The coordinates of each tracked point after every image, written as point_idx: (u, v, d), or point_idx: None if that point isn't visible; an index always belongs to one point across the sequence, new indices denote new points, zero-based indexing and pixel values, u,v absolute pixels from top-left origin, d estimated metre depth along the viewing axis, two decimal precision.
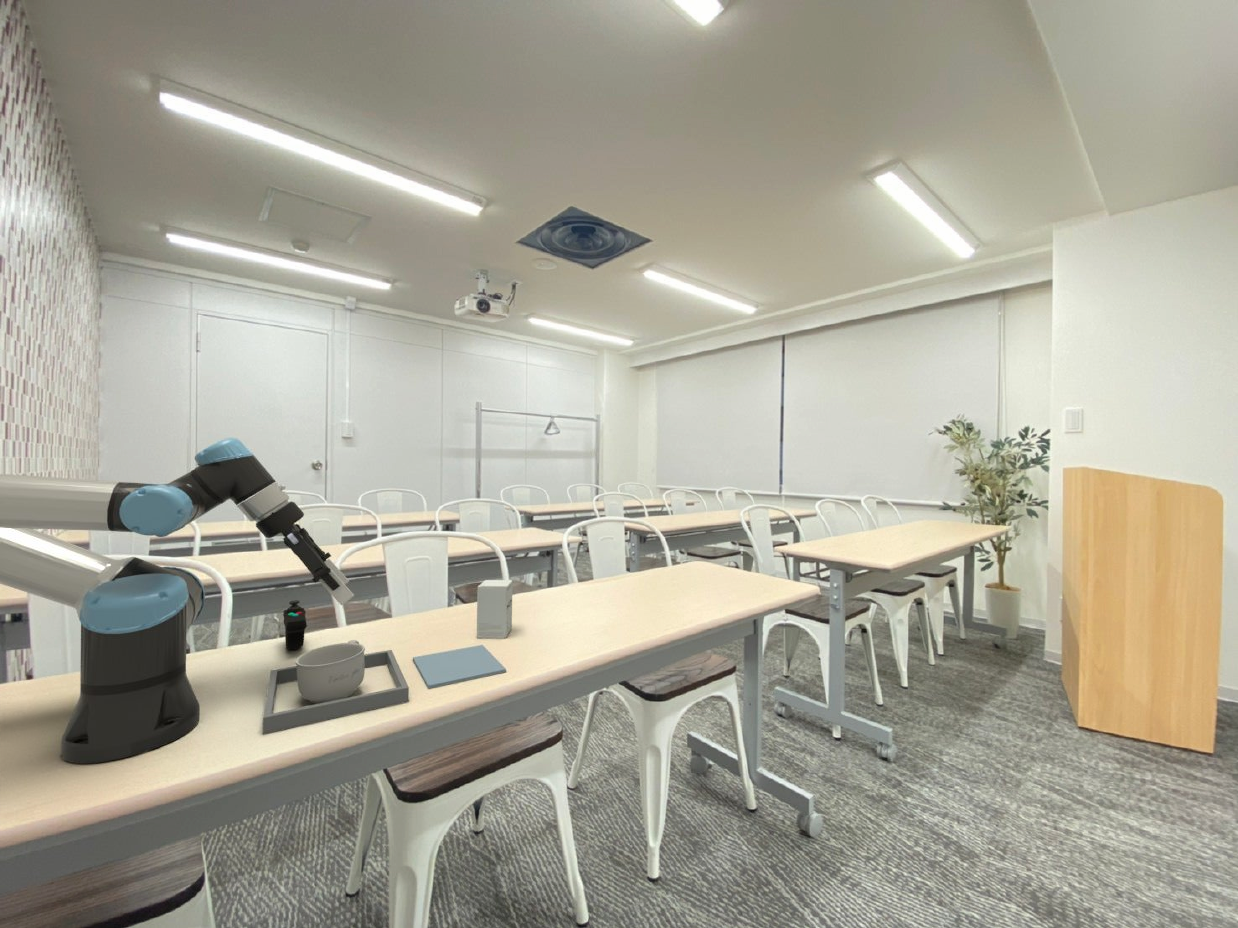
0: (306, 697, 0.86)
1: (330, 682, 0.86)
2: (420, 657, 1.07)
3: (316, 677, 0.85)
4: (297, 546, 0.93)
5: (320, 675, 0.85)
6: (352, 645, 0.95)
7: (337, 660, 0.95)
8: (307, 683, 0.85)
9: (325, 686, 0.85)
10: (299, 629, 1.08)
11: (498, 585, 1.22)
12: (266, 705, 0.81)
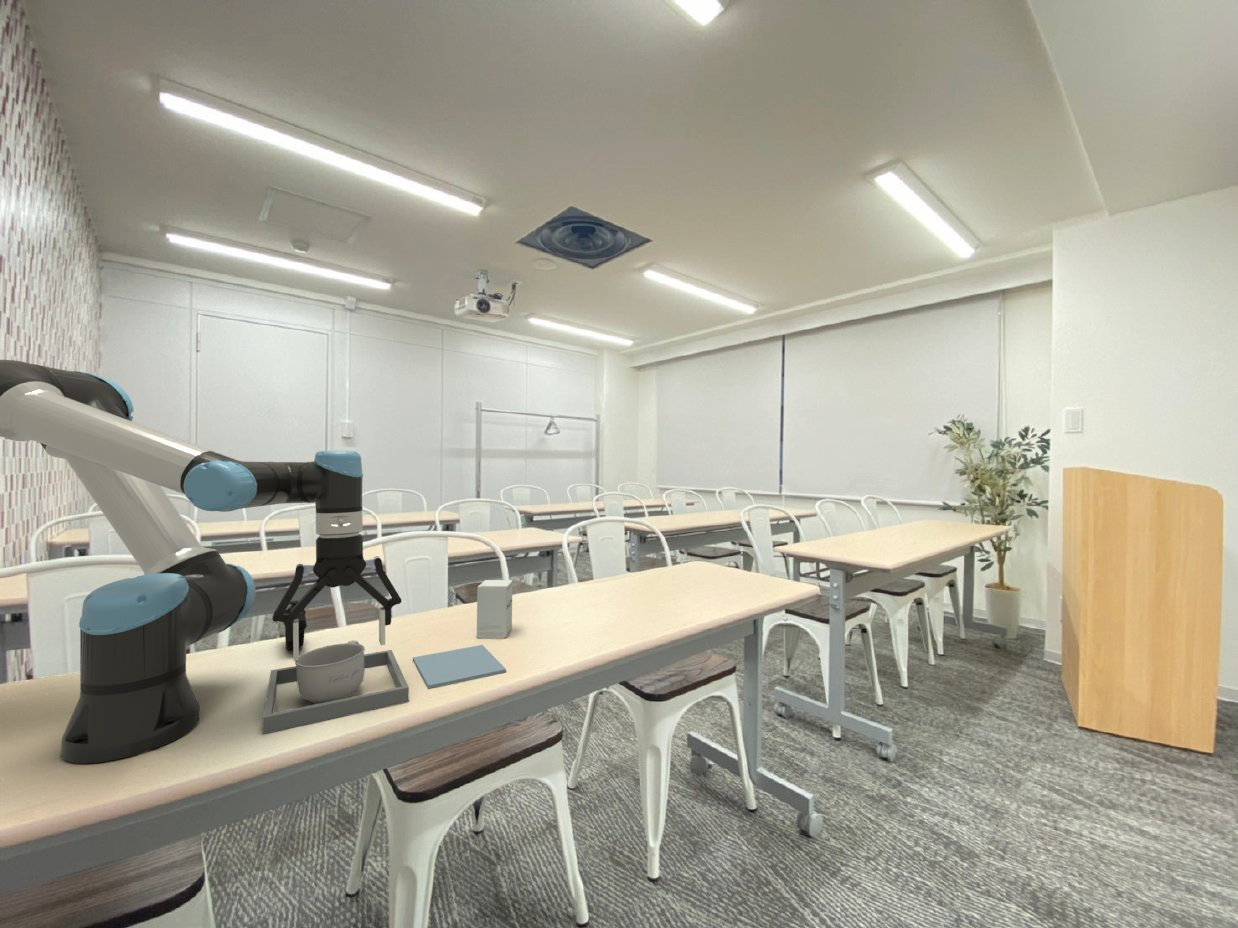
0: (306, 697, 0.86)
1: (330, 682, 0.86)
2: (420, 657, 1.07)
3: (316, 677, 0.85)
4: (293, 579, 0.88)
5: (320, 675, 0.85)
6: (352, 645, 0.95)
7: (337, 660, 0.95)
8: (307, 683, 0.85)
9: (325, 686, 0.85)
10: (299, 629, 1.08)
11: (498, 585, 1.22)
12: (266, 705, 0.81)
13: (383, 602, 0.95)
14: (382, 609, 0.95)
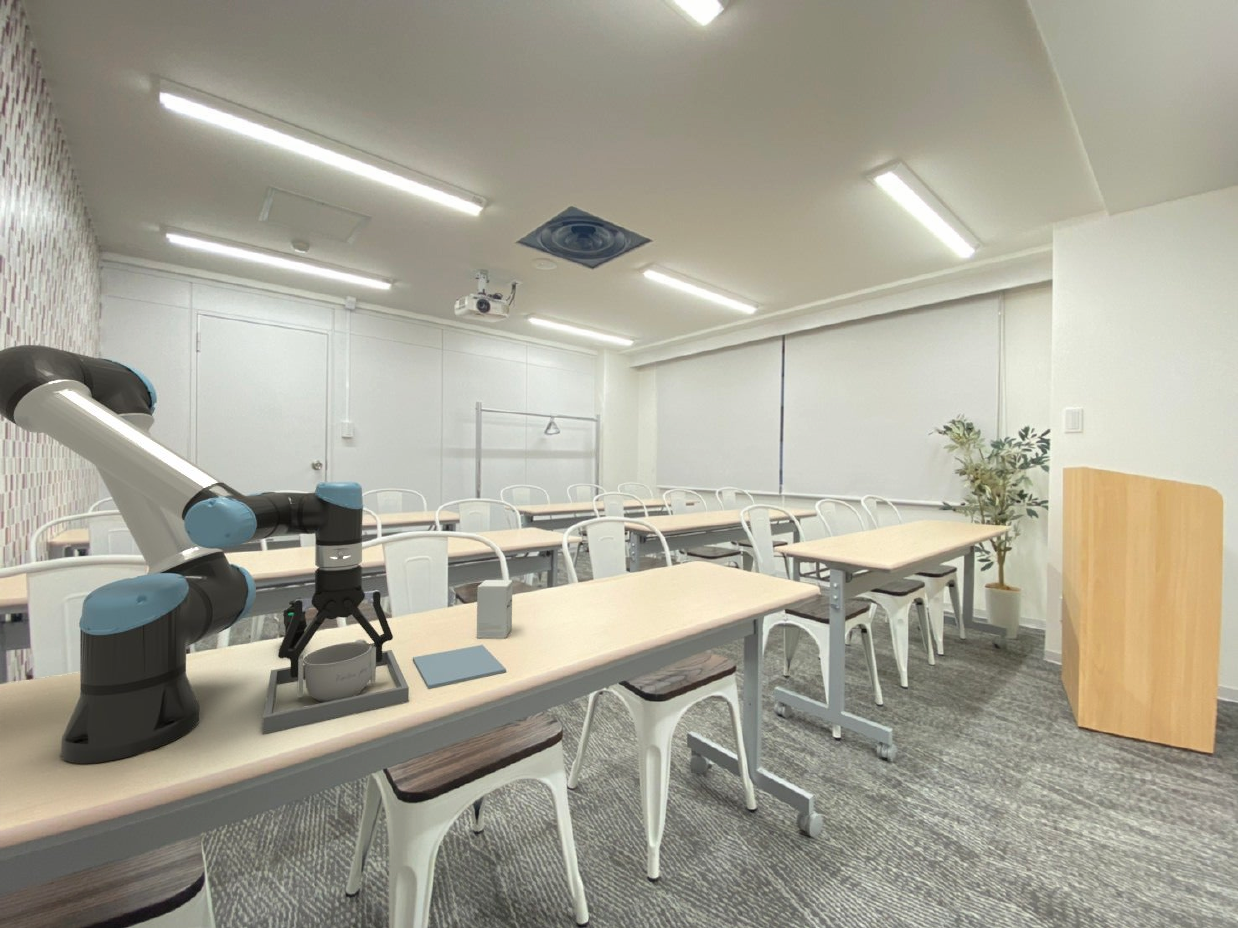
0: (314, 696, 0.86)
1: (337, 681, 0.86)
2: (420, 657, 1.07)
3: (323, 676, 0.85)
4: (293, 614, 0.88)
5: (327, 674, 0.85)
6: (359, 644, 0.95)
7: (345, 659, 0.95)
8: (315, 682, 0.86)
9: (332, 685, 0.86)
10: (299, 629, 1.08)
11: (498, 585, 1.22)
12: (266, 705, 0.81)
13: (375, 638, 0.94)
14: (373, 646, 0.94)
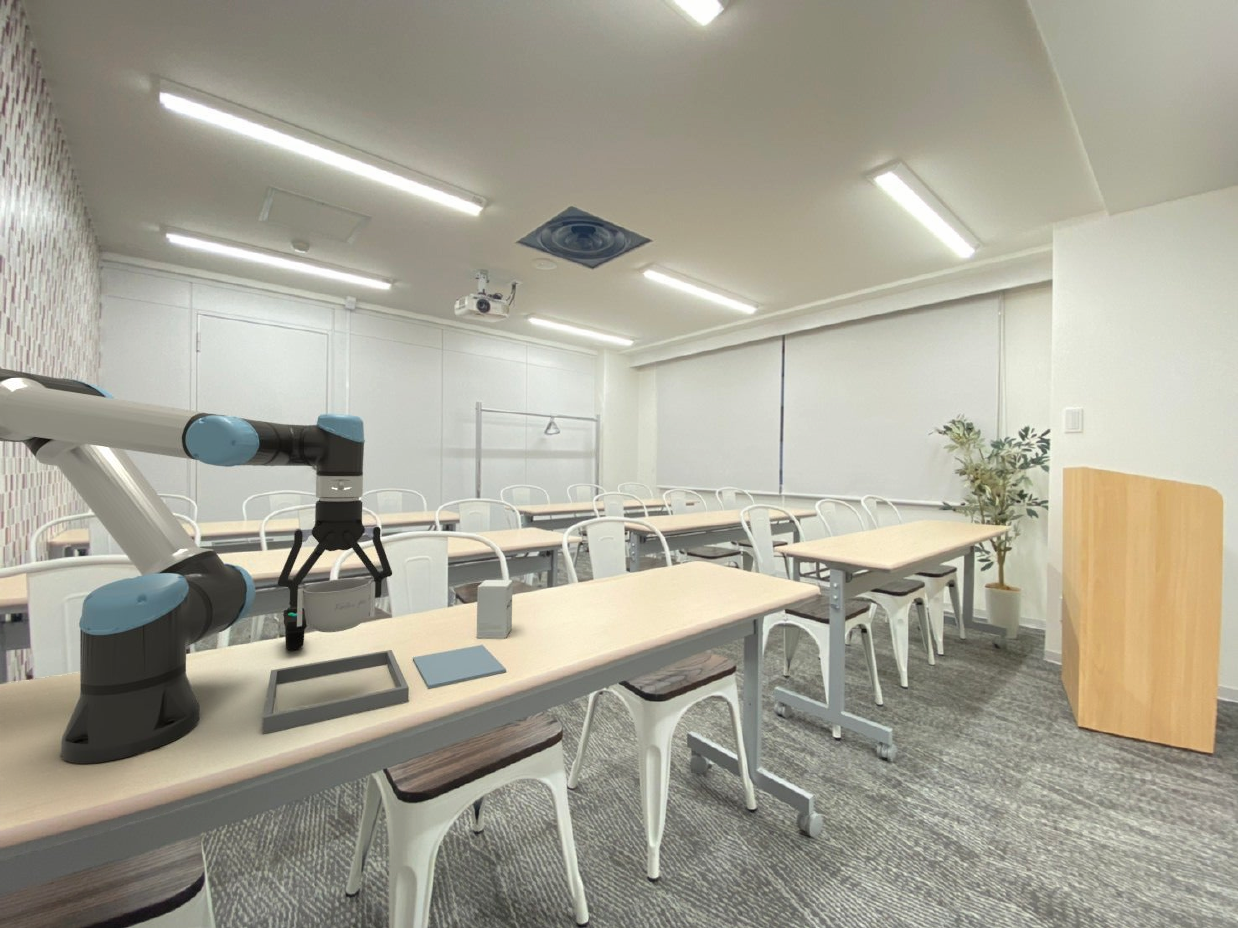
0: (313, 624, 0.86)
1: (336, 610, 0.86)
2: (420, 657, 1.07)
3: (323, 604, 0.85)
4: (293, 544, 0.88)
5: (327, 602, 0.85)
6: (359, 580, 0.95)
7: None
8: (314, 610, 0.86)
9: (331, 613, 0.86)
10: (299, 629, 1.08)
11: (498, 585, 1.22)
12: (266, 705, 0.81)
13: (374, 573, 0.94)
14: (372, 581, 0.94)
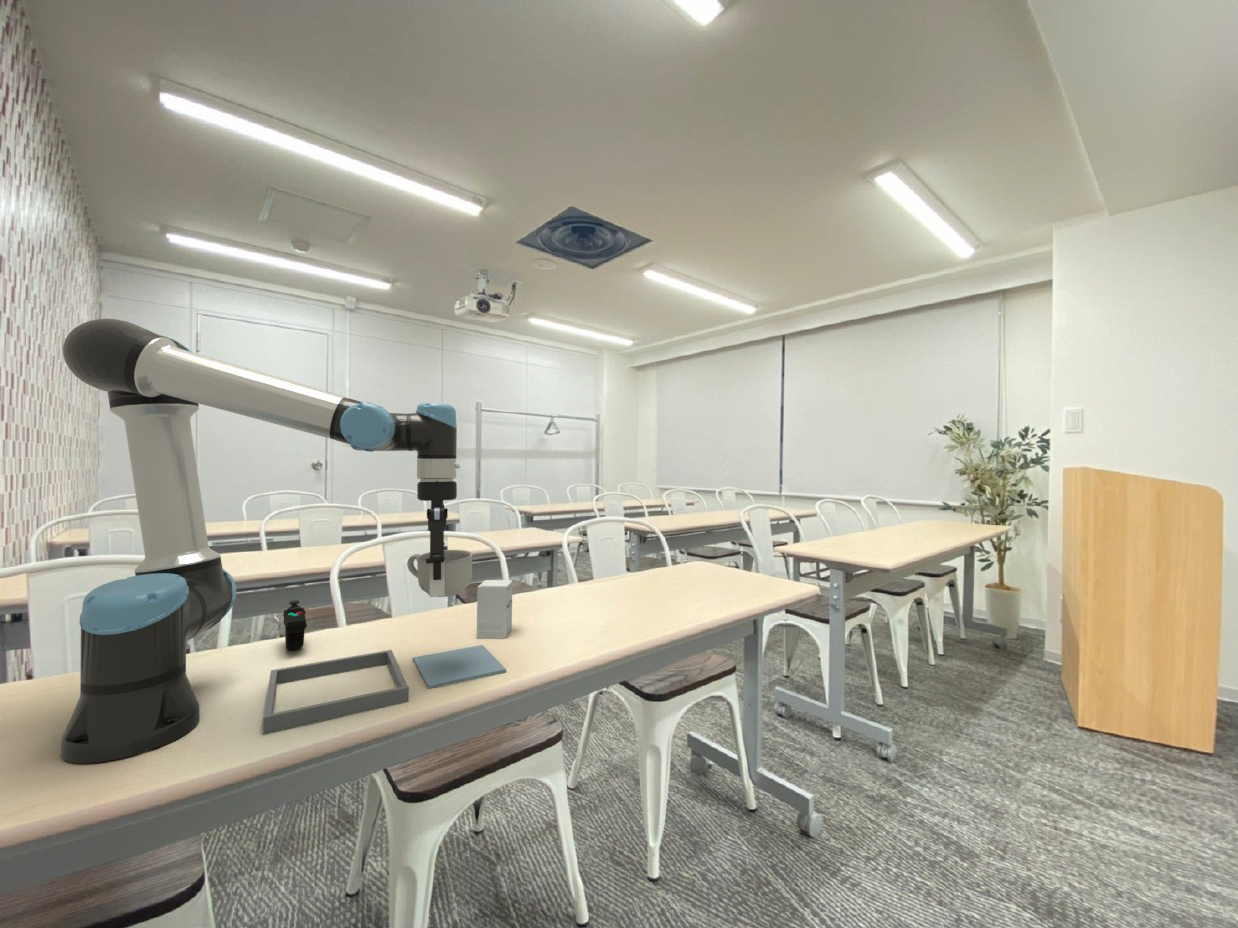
0: (460, 587, 1.00)
1: None
2: (420, 657, 1.07)
3: (469, 566, 1.01)
4: (435, 523, 0.95)
5: (470, 564, 1.02)
6: (428, 554, 1.05)
7: None
8: (464, 573, 1.00)
9: (471, 573, 1.03)
10: (299, 629, 1.08)
11: (498, 585, 1.22)
12: (266, 705, 0.81)
13: None
14: None
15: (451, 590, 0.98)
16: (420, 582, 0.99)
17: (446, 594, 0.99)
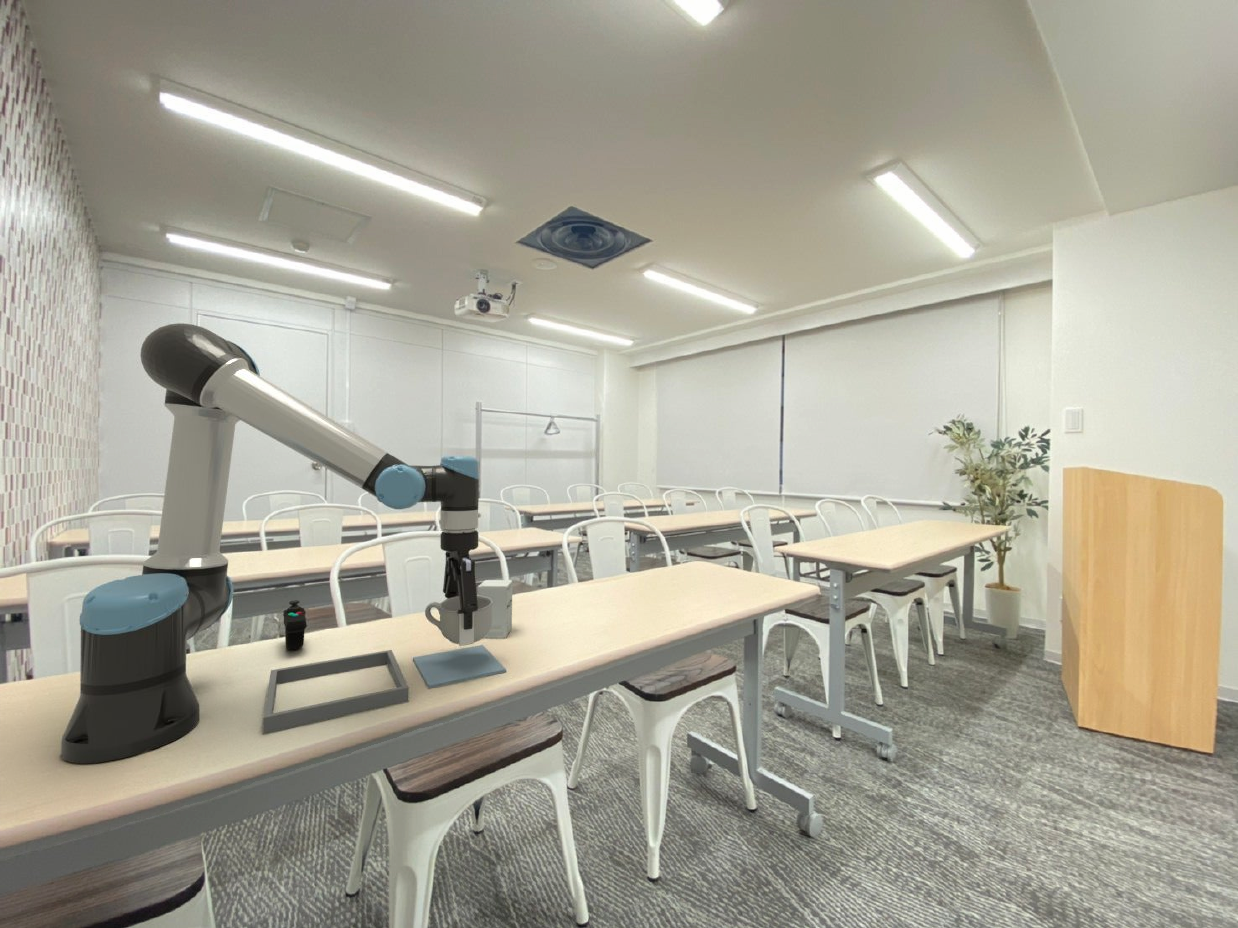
0: (485, 633, 1.03)
1: None
2: (420, 657, 1.07)
3: (491, 612, 1.06)
4: (467, 574, 0.98)
5: None
6: (446, 601, 1.07)
7: None
8: (488, 619, 1.04)
9: None
10: (299, 629, 1.08)
11: (498, 585, 1.22)
12: (266, 705, 0.81)
13: None
14: None
15: (477, 637, 1.02)
16: (445, 631, 1.01)
17: None
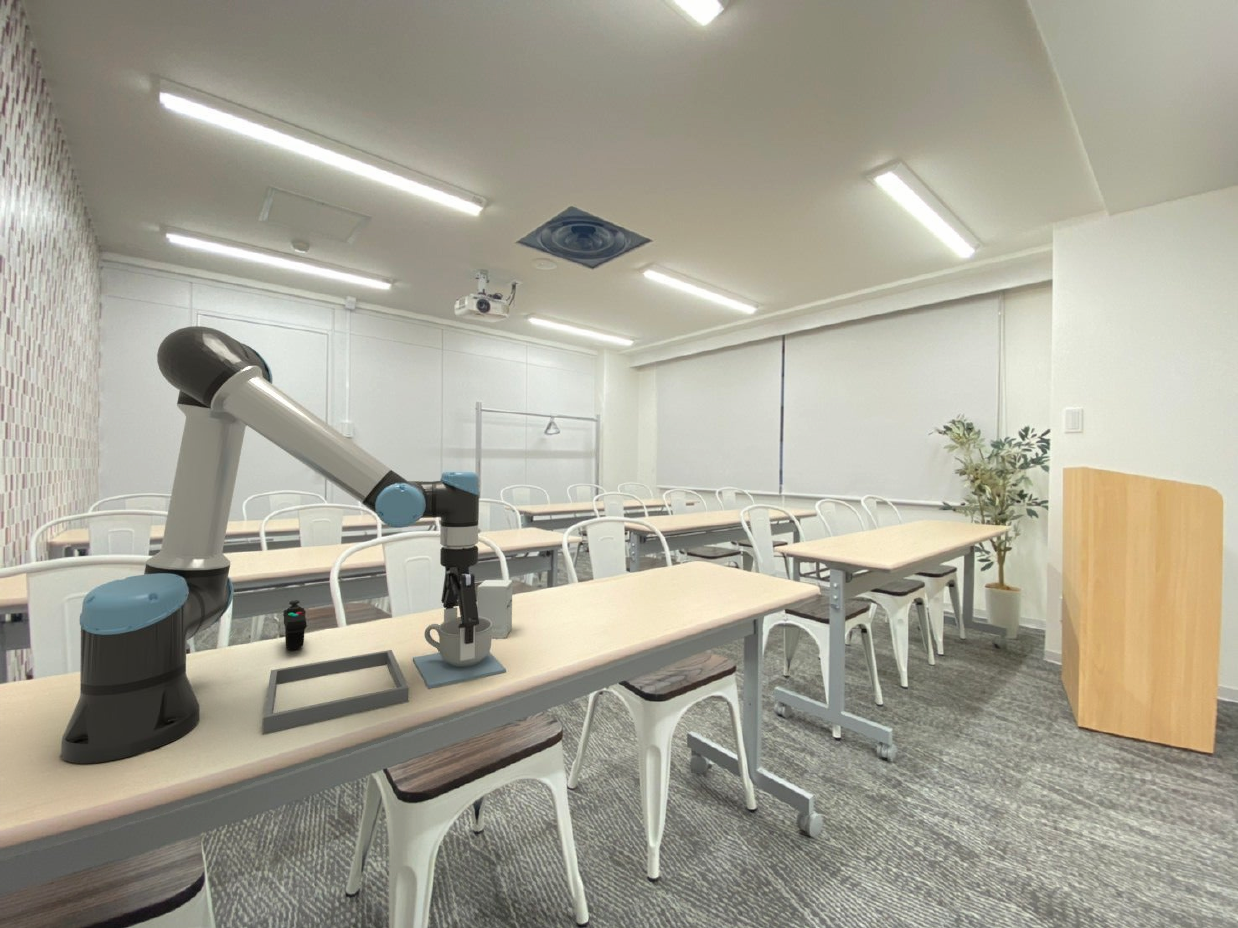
0: (484, 656, 1.03)
1: None
2: (420, 657, 1.07)
3: (491, 634, 1.05)
4: (467, 588, 0.98)
5: (491, 632, 1.06)
6: (445, 623, 1.06)
7: None
8: (488, 642, 1.04)
9: None
10: (299, 629, 1.08)
11: (498, 585, 1.22)
12: (266, 705, 0.81)
13: None
14: (453, 608, 1.10)
15: (476, 660, 1.02)
16: (445, 654, 1.01)
17: (471, 664, 1.02)
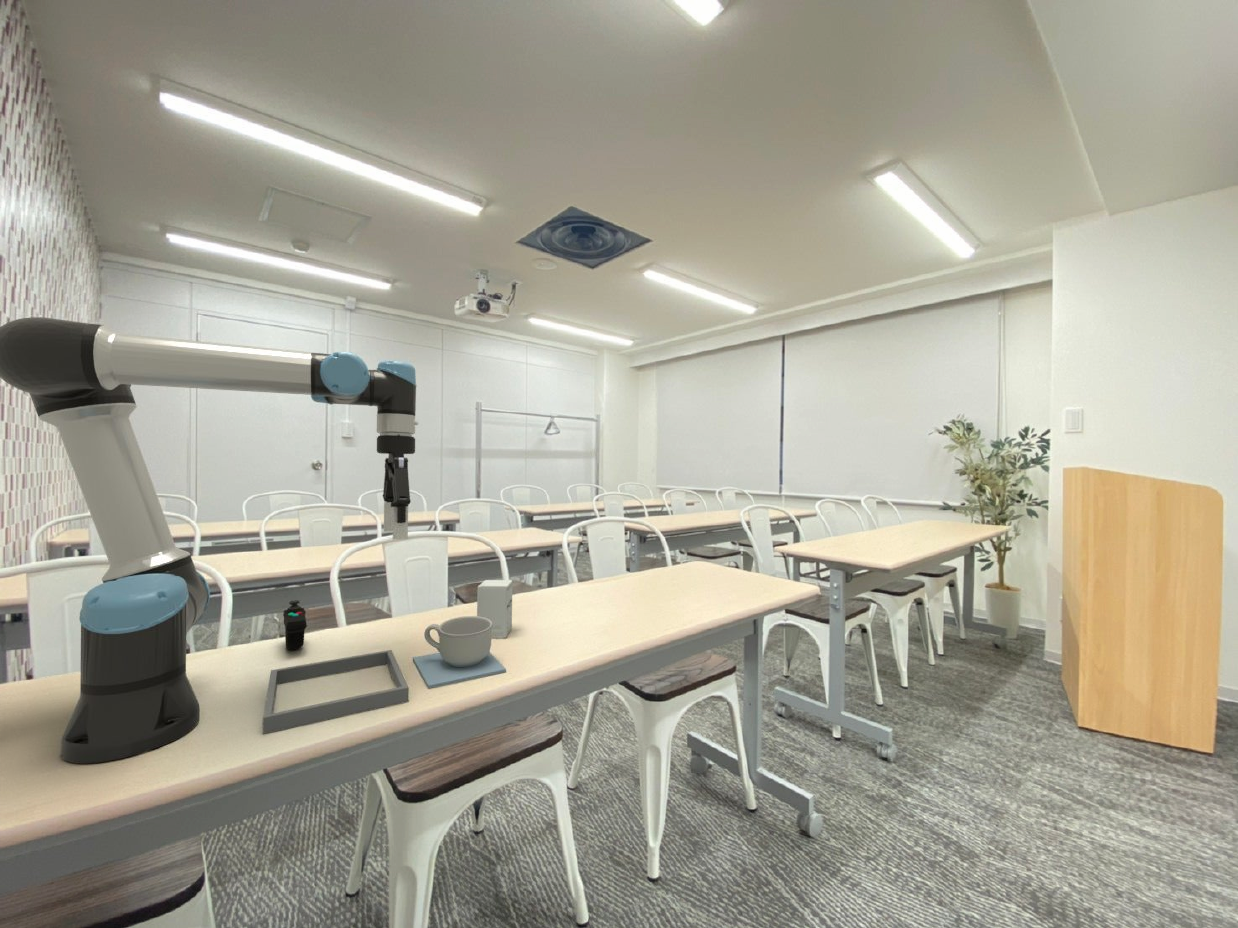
0: (484, 656, 1.03)
1: None
2: (420, 657, 1.07)
3: (491, 634, 1.05)
4: (400, 470, 1.01)
5: (491, 632, 1.06)
6: (445, 623, 1.07)
7: None
8: (488, 642, 1.04)
9: None
10: (299, 629, 1.08)
11: (498, 585, 1.22)
12: (266, 705, 0.81)
13: None
14: (393, 502, 1.13)
15: (476, 660, 1.02)
16: (445, 654, 1.01)
17: (471, 664, 1.02)
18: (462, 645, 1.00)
